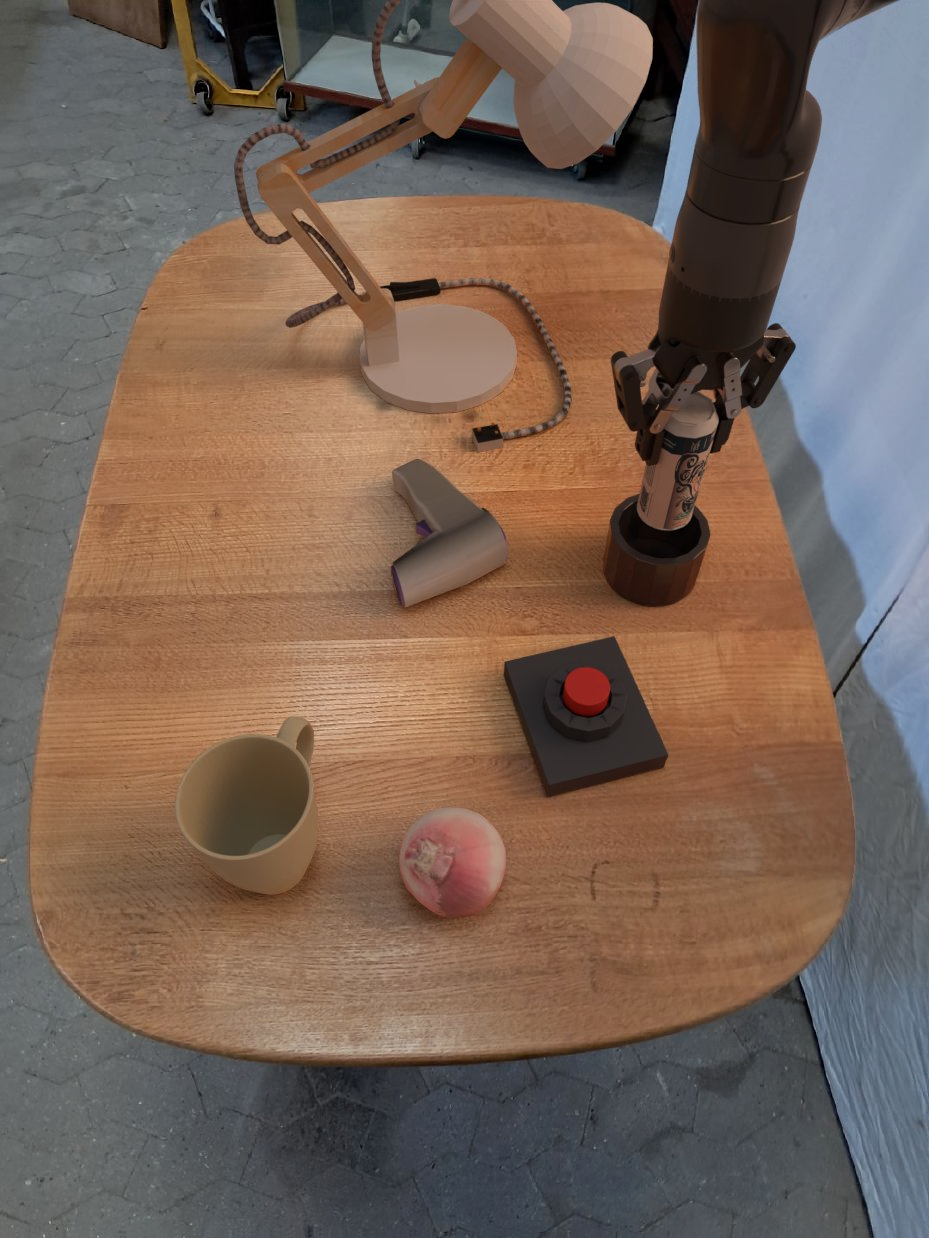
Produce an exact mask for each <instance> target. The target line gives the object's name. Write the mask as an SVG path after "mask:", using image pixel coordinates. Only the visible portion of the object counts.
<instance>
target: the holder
mask: <svg viewBox="0 0 929 1238" xmlns="http://www.w3.org/2000/svg"><path fill="white" fill-rule="evenodd" d="M639 494H640V493H637V494H633V495H631V496H628V497H626V498H625V499H624V500H622V501H621V502H620V503H619V504H617V506H615V507H614V509H613V512H612V514H611V517H610V519H609V523H608V529H607V534H606V539H605V545H604V551H603V556H602V572H603V576H604V578H605V581H606V583H607V584H608V586H609V587H610V588H611V589H612V591H613V592H615V593H616V594H617V595H618V596H620V598H623V599H624V600H625V601H628V602H630V603H633V604H636V605H638V606H644V607H650V608H651V607H653V608H658V607H659V608H660V607H665V606H667V607H668V606H670V605H673V604H676V603H679V602H680V601H682V600H683V599H685V598H686V597H688V595H689V594H690V593H691V592H692V591H693V589H694V588H695V586H696V583H697V579H698V576H699V574H700V573H699V572H700V570H701V567H702V565H703V564H702V563H703V561H704V557H705V555H706V551H707V548H708V545H709V542H710V538H711V529H710V525H709V521H708V519H707V518H706V516H705V515H704V514H703V512H702V511H701V510H700V508H699V507H698V506H697V505H695V506H694V510H693V513H692V517H691V519H690V521H689V522H688V524H686V525H685V526H684V527H682V528H679V529H676V530H660V529H656V528H653V527H651V526H649V525H647V524H646V523H645V522H644V521H643V520H642V519H641V518H640V516H639V514H638V511H637V504H638V499H639Z"/></svg>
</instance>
